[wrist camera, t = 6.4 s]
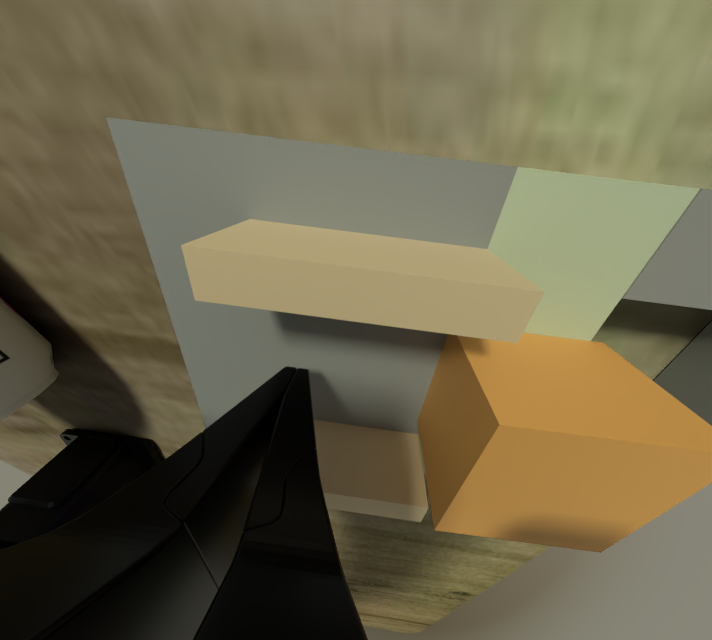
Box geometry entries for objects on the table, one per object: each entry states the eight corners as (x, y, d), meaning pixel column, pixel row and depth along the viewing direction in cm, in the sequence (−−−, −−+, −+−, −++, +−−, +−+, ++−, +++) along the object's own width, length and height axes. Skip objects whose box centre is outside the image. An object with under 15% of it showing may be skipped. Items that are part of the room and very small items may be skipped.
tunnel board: (588, 456, 15) (679, 583, 11) (234, 407, 16) (172, 507, 11) (838, 210, 8) (1454, 265, 3) (174, 130, 9) (-76, 82, 4)
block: (532, 436, 11) (600, 552, 8) (417, 421, 11) (434, 530, 8) (603, 342, 9) (751, 457, 5) (451, 323, 9) (499, 424, 5)
